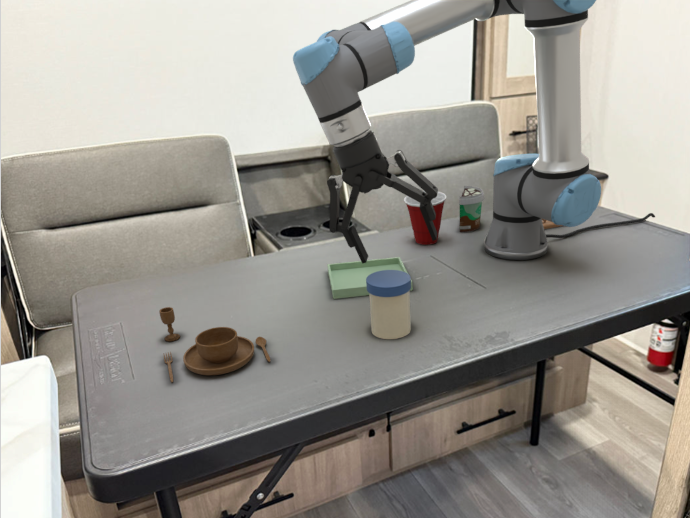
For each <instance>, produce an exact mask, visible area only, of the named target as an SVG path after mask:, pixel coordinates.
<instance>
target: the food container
mask: <svg viewBox="0 0 690 518" xmlns="http://www.w3.org/2000/svg"><path fill="white" fill-rule="evenodd" d="M485 199H486V197H485V193H484V191H483V189H482V188H481V187H478V186H473V185H463V191H462V192H461V196H459V199H458V201H459V202H458V206H459V233H467V232H468V233H469V232H474V231H476V230H479V229H480V227H481V215H482V207H483V206H482V205H483V201H485Z"/></svg>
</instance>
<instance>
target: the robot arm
mask: <svg viewBox="0 0 690 518" xmlns="http://www.w3.org/2000/svg"><path fill="white" fill-rule="evenodd" d="M596 1H597V0H408V1H406V2H403V3H401V4H399V5H397V6H393V7H392V8H390V9H386V10H385V11H382V12H379V13H377V14H375V15H372V16H370V17H368V18H365V19H362V20H360V21H359V22H356V23H354V24H351V25H349V26H346V27H343V28H342V29H331V30H329V31H328V30H327V31H326V32H324V33H322V34H321V35H320V36H319V37H318V38H317V39H316V41H315V42H313V43H311V44H309V45H306V46H304V47H302V48H300V49H298V50H297V51H295V52H294V54H293V56H292V62H293V65H294V68H295V71H296V74H297V76H298V79H299V82H300V85H301V86H302V88H303V90H304V92H305V94H306V96H307V98H308V100H309V102H310V104H311V107H312V108H313V111H314V113H315V114H316V117H317V119H318V121H319V124H320V126H321V128H322V131H323V133H324V135H325V137H326V140H327V141H328V143H329V145H331V146H333V147H332V150H331V151H332V153H333V155H334V158H335V160H336V162H337V164H338V166H339V168H340V170H341V174H338V175H335V174H331V175H330V176H329V178H328V179H327V181H326V184H327V188H328V190H329V232H330V233H332V234H334V233H341V234H342V235H343V237H344V240H345V241H346V243H347V245H348V247H349V248H350V249H353V248H354V249H355V251H356V253H357V256H358V258H359V259H360V260H359V261H361V262H362V264H363V263H366V262H367V260H369V259H368V258H369V254H368V252H367V249H366V248H365V246H364V243H363V241H362V239H361V237H360V234H359V233H358V230H357V229H356V226H355V225H351V226H350V224H351V222H352V217H353V214H354V211H355V208H356V205H357V202H358V199H359V195H360V193H362V194H365V195H366V194H367V193H370V192H371V191H373V190H379V189H381V188H382V187H383V186H384V185H385V186H386V187H388V188H392V189H394V190H396V191H397V192H399V193H401V194H403V195H404V196H409V197H410V198H412V199H414V200H416V201H418V202H420V207H419V208H420V211H421V213H422V216H423V218H424V221H425V223H426V226H427V228H428V231H429V233H430V236H431V238H432V241H434V240H437V234H438V233H437V231H436V228H435V226H434V223H433V221H432V220H435V218H436V213H435V210H434V208H433V205H432V203H431V200H432V199H433V198H436V197H437V193H438V192H439V189H438V187H437V186H436V185H435V184H434V183H433V182H431V181H430V179H428V178H427V177H426V176H425V175H424V174H423V173H422V172H421V171H419V170H418V169H417V168H416V167H415V166H414V165H413V164H412V163H411V162H410V161H408V159H407V157H406V156H405V154H404V152H403V150H401V149H397V150H396V151H395V153H393V154H391V155H389V156H388V157H386V155H385V154H384V153H383V151H382V149H381V146H380V144H379V141H378V139H377V136H376V133H375V132H374V131H372V130H370V129H371V128H372V125H371V122H370V120H369V117H368V114H367V112H366V110H365V108H364V105H363V103H362V100H361V98H360V96H359V95H360V94H359V93H360V92H362V91H364V90H366V89H368V88H370V87H372V86H374V85H376V84H377V83H380V82H382V81H384V80H386V79H388V78H390V77H392V76H394V75H398V74H400V73H401V72H402V71H403V70H405V69H407V68H408V67H410V66H412V65H413V63H414V61H415V58H416V47H415V46H417V45H420V44H422V43H424V42H427V41H429V40H431V39H433V38H435V37H438V36H440V35H442V34H444V33H447V32H448V31H451V30H454V29H456V28H458V27H460V26H463V25H465V24H468V23H469V22H471V21H475V20H476V21H478V22H484V21H487V20H489V19H492V18H495V17H499V16H506V15H507V16H509V15H523V17H524V18H523V19H524V29H525V30H526V31H527V32H529V33H530V35H532V37H533V56H534V58H533V59H534V77H535V78H534V79H535V95H536V96H535V98H536V100H535V101H536V117H537V119H536V121H537V136H538V137H537V139H538V153H519V154H512V155H506V156H502V157H500V158H498V159H496V161H495V163H494V171H493V175H492V176H493V177H492V178H493V186H492V187H493V188H492V189H493V195H492V201H493V202H492V220H491V223H490V226H489V228H488V231H487V234H486V235H485V237H484V239H483V244H484V251H485V252H486V253H487V254H488V255H490V256H492V257H495V258H497V259H502V260H508V261H509V260H510V261H526V260H528V261H529V260H534V259H537V258H540V257H543V256H544V255H546V254H547V252H548V246H549V242H548V238H549V239H550V238H551V239H552V238H555V239H564V238H568V237H572V236H573V235H576V234H579V233H582V232H586V231H590V230H594V229H600V228H605V227H614V226H621V225H622V226H623V225H628V224H635V223H641V222H644V221H646V220H648V218H656V215H655V214H654V213H653V212H649V213H648V214H646V215H645V216H644V217H641V218H636V219H631V220H630V219H629V220H623V221H615V222H607V223H601V224H595V225H590V226H586V227H582V228H579V229H576V230H573V231H571V232H568V233H564V234H551V233H549V234H546V231H545V230H546V229H544V227H543V223H542V221H543V220H542V219H545V220H548V221H551V222H553V223H554V224H556V225H563V226H562V227H568V228H575V227H579V226H580V225H582V224H584V223H586V222H587V221H588V220H589V219H590V218H591V217H592V215H593V213H594V212H595V211H596V210H597V208H598V206H599V203H600V201H601V196H602V184H601V182H600V180H599V179H598V178H597V177H596V176H595V175H594V174H592V173H590V159H589V158H588V157H587V156H586V155H585V154H584V153H583V152H582V107H581V105H582V103H581V100H582V99H581V98H582V96H581V95H582V94H581V91H582V90H581V35H580V34H581V33H580V32H581V29H582V27H583V26H584V25H585V24H586V22H587V21H589V9H591V8H592V7H593V6H594V4H596ZM390 165H393V166H394V167H395V168H399V169H400V171H401V172H402V173H404V174H405V176H407V177H408V178H409V180H411V181H413V182H414V183H415V184H416V185H417V186H418V187H419V188H418V187H416V186H414V185H412V184H411V183H409V182H407V181H406V180H403V179H401V178H399V177H398V176H397V175H395V174H394V173H392V172H391V171H389V168H390ZM343 182H344V183H345V184H346V185H348V186H350V187H351V191H350V194H349V198H348V201H347V206H346V208H345V210H344V211H345V212H344V214H343V219H342V221H341V222H340V203H341V202H340V199H341V198H340V195H341V187H342V186H343ZM423 191H425V192H426V193H425V192H423ZM437 241H438V240H437Z"/></svg>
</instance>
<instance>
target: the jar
mask: <svg viewBox="0 0 690 518" xmlns="http://www.w3.org/2000/svg"><path fill="white" fill-rule="evenodd" d="M368 296H369V313H370V314H369V315H370V327H371V333H372V336H374V337H376V338H379V339H382V340H397V339H398V340H399V339H401V338H404V337H406V336H408V335H409V334H410V333H411V331H412V323H411V322H412V320H411V319H412V317H411V291H410V290H409V291H408V292H407V293H405V294H403V295H400V296H395V297H379V296H374V295H372V294H370V293H369V295H368Z"/></svg>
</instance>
